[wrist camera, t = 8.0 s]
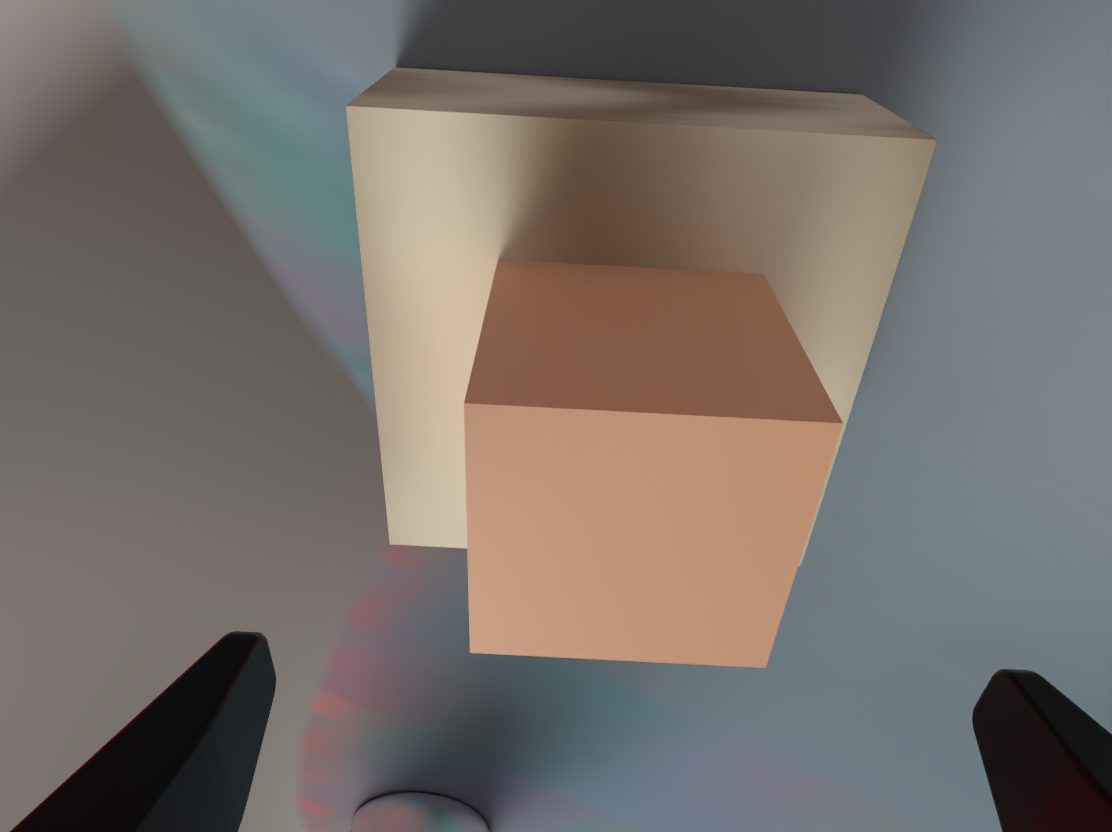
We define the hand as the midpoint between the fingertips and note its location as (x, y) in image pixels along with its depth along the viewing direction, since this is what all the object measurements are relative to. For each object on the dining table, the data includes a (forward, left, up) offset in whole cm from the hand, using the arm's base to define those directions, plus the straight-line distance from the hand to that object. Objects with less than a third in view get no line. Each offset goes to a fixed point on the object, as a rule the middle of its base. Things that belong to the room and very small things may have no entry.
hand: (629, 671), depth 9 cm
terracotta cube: (0, 0, -7) cm, 7 cm away
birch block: (0, 0, -11) cm, 11 cm away
